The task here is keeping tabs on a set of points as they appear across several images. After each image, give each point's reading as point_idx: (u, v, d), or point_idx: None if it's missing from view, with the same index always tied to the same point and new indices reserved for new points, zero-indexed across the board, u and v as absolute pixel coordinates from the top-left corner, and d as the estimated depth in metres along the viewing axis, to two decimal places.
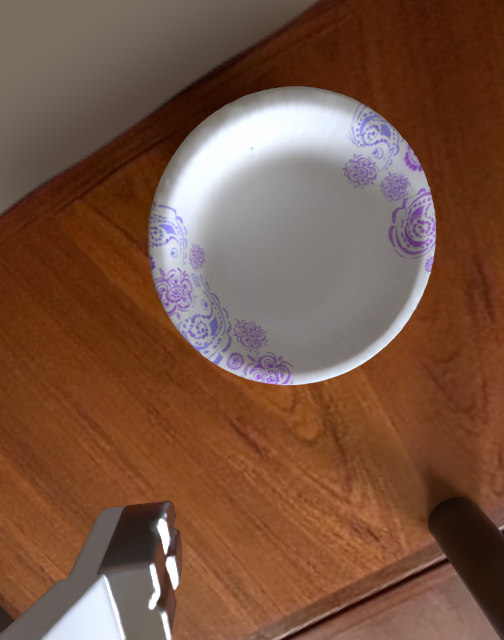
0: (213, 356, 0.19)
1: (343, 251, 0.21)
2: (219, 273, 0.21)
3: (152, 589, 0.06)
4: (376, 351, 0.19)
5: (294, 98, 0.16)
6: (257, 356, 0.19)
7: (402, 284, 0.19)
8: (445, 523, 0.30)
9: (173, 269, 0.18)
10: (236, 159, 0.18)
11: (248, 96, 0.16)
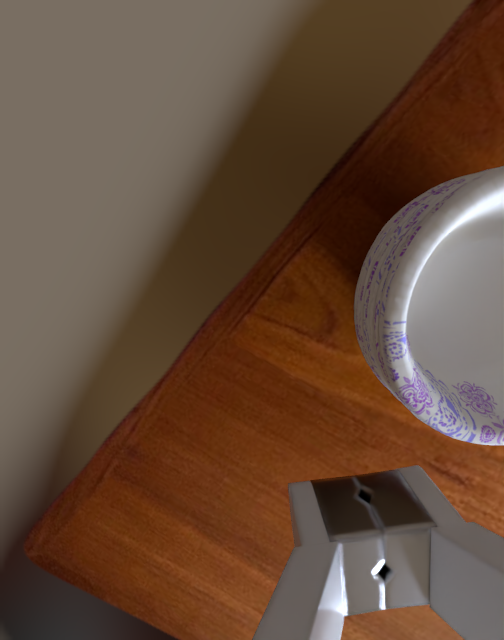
0: (466, 436, 0.19)
1: None
2: (422, 348, 0.21)
3: (376, 557, 0.06)
4: None
5: None
6: (500, 420, 0.20)
7: None
8: None
9: (413, 371, 0.18)
10: None
11: (458, 196, 0.16)
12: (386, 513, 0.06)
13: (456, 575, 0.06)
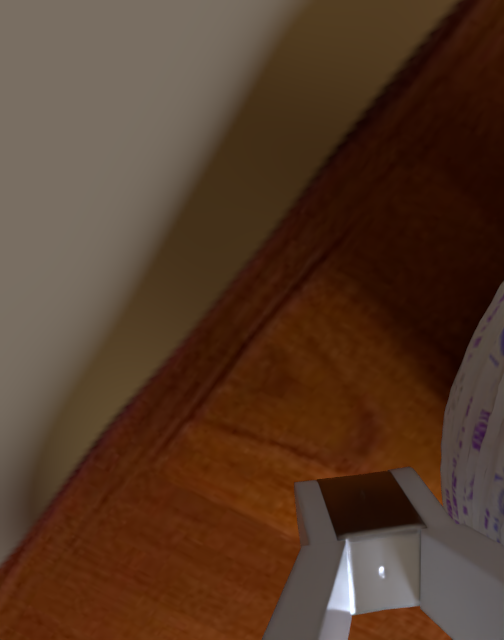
0: None
1: None
2: None
3: (384, 556, 0.06)
4: None
5: None
6: None
7: None
8: None
9: None
10: None
11: None
12: (377, 514, 0.06)
13: (446, 577, 0.06)
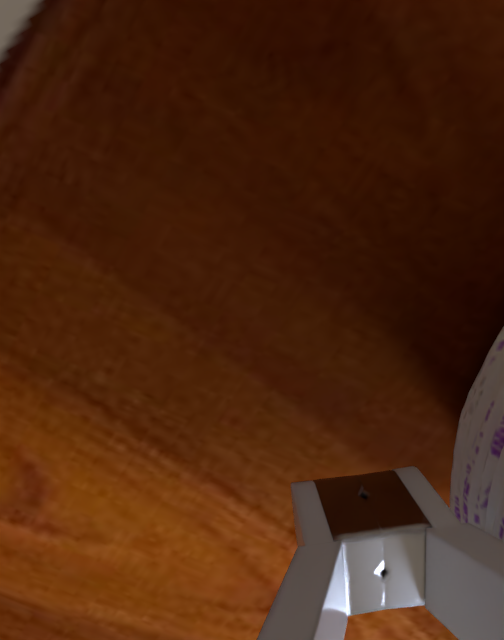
0: None
1: None
2: None
3: (380, 557, 0.06)
4: None
5: None
6: None
7: None
8: None
9: None
10: None
11: None
12: (381, 514, 0.06)
13: (451, 576, 0.06)
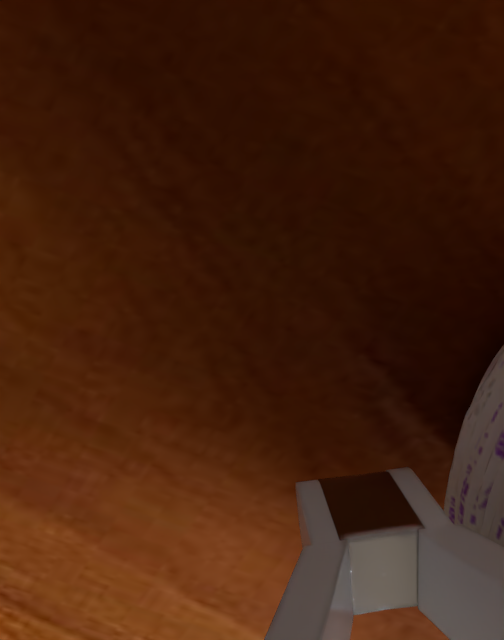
0: None
1: None
2: None
3: (386, 556, 0.06)
4: None
5: None
6: None
7: None
8: None
9: None
10: None
11: None
12: (374, 515, 0.06)
13: (443, 577, 0.06)
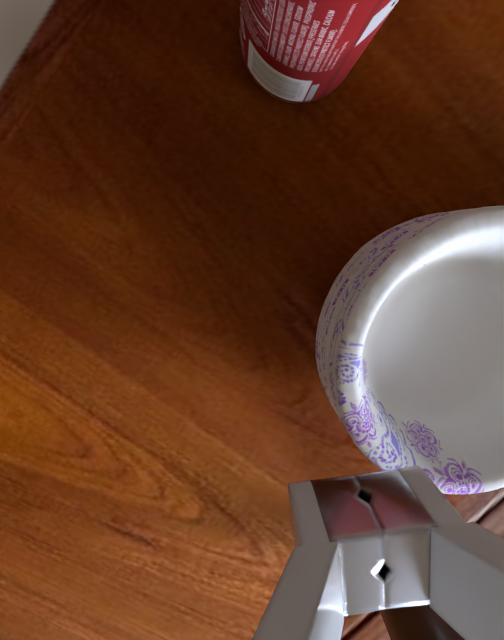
0: None
1: (503, 339, 0.21)
2: (379, 378, 0.21)
3: (376, 557, 0.06)
4: None
5: (485, 222, 0.15)
6: (442, 467, 0.19)
7: None
8: None
9: (361, 399, 0.17)
10: None
11: (438, 227, 0.15)
12: (386, 513, 0.06)
13: (456, 575, 0.06)
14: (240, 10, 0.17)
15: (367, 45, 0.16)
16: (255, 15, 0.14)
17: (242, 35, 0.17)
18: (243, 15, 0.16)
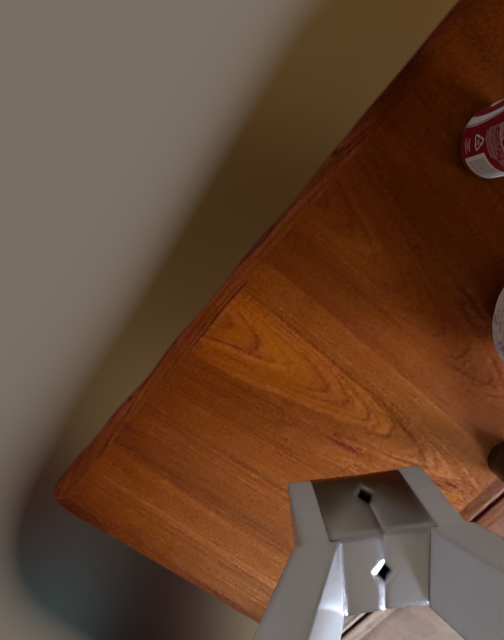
0: None
1: None
2: None
3: (376, 557, 0.06)
4: None
5: None
6: None
7: None
8: (499, 462, 0.42)
9: None
10: None
11: None
12: (386, 513, 0.06)
13: (456, 575, 0.06)
14: (479, 137, 0.31)
15: None
16: None
17: (473, 147, 0.32)
18: (486, 143, 0.31)
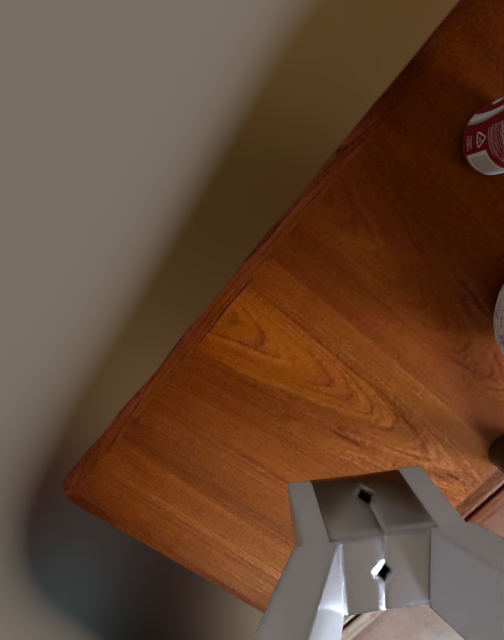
0: None
1: None
2: None
3: (376, 557, 0.06)
4: None
5: None
6: None
7: None
8: (499, 454, 0.43)
9: None
10: None
11: None
12: (386, 513, 0.06)
13: (456, 575, 0.06)
14: (481, 135, 0.32)
15: None
16: None
17: (474, 144, 0.33)
18: (488, 140, 0.31)
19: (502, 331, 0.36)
